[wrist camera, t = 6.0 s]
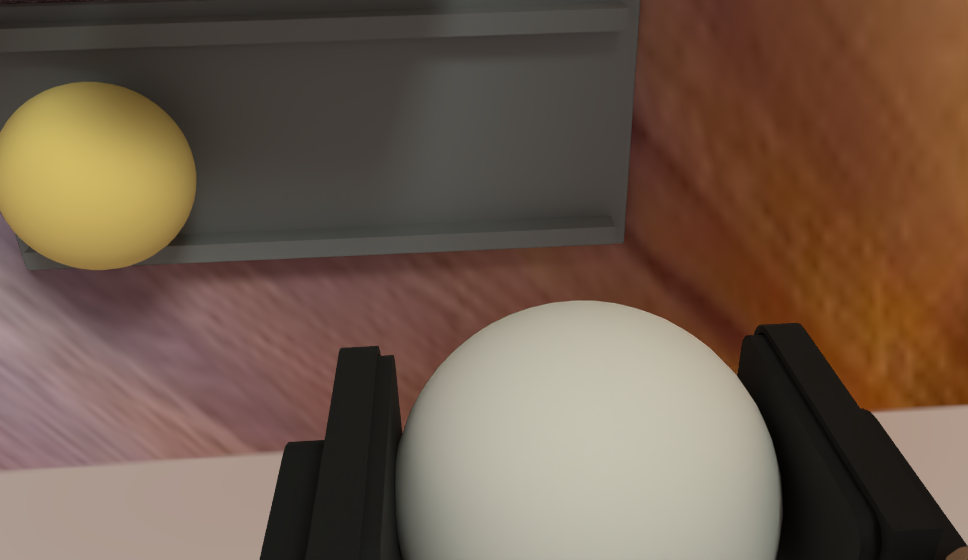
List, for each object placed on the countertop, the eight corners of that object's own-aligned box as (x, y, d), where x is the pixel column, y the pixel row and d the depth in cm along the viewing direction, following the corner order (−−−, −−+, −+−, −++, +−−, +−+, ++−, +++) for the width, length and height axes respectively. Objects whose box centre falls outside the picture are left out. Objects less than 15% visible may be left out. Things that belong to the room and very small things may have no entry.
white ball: (733, 226, 12) (900, 467, 8) (698, 484, 15) (810, 773, 10) (385, 244, 12) (359, 499, 8) (410, 501, 15) (401, 803, 10)
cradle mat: (637, -17, 24) (647, -8, 23) (620, 236, 28) (628, 254, 27) (-49, 5, 23) (-73, 15, 22) (33, 262, 27) (16, 282, 26)
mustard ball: (197, 56, 24) (145, 113, 19) (227, 217, 26) (187, 300, 22) (15, 62, 24) (-78, 121, 19) (63, 225, 26) (-10, 309, 22)
